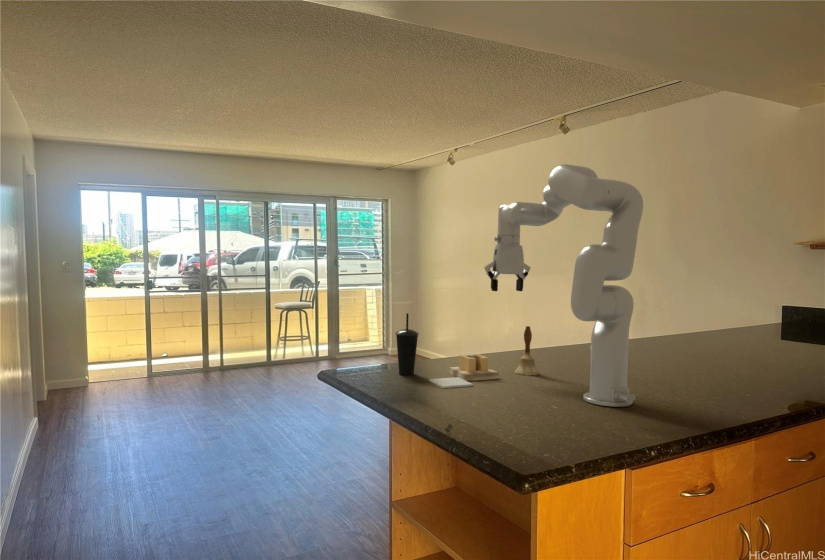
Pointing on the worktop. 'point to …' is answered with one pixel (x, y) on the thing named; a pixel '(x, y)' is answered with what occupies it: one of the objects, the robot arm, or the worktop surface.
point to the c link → (473, 363)
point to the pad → (450, 382)
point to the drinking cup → (406, 349)
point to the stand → (473, 373)
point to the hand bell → (527, 357)
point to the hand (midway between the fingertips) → (506, 291)
